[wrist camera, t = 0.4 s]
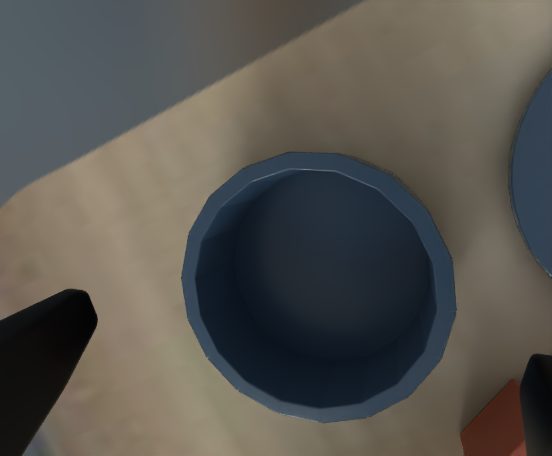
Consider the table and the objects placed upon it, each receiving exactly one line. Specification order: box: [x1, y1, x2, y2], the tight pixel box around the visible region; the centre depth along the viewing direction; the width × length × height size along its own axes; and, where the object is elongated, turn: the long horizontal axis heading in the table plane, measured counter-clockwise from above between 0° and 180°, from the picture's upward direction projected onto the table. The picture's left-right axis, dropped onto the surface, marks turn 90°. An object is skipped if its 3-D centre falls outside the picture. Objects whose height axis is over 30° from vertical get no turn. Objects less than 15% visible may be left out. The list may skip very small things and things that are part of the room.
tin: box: [181, 152, 457, 423], centre depth 20 cm, size 11×12×5 cm
